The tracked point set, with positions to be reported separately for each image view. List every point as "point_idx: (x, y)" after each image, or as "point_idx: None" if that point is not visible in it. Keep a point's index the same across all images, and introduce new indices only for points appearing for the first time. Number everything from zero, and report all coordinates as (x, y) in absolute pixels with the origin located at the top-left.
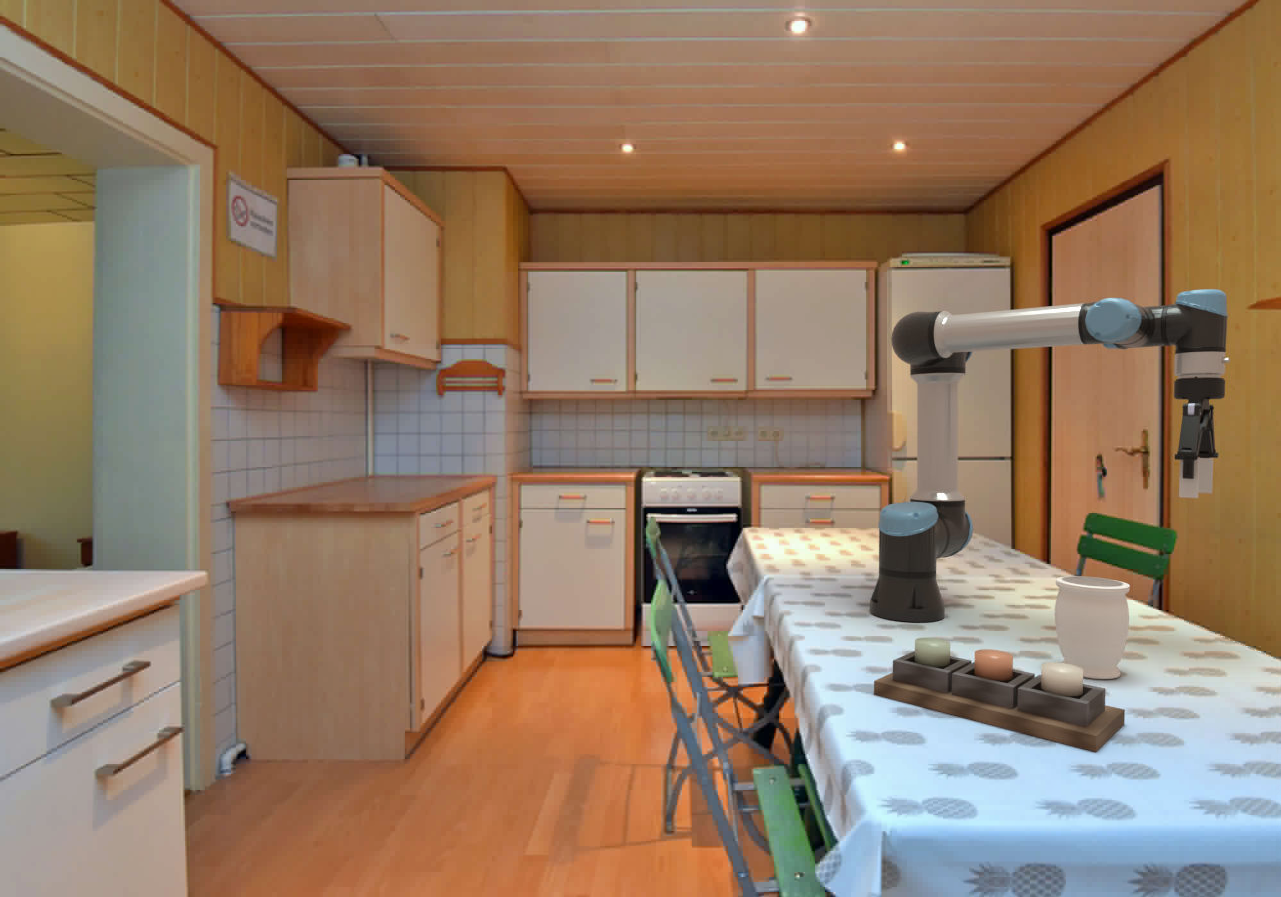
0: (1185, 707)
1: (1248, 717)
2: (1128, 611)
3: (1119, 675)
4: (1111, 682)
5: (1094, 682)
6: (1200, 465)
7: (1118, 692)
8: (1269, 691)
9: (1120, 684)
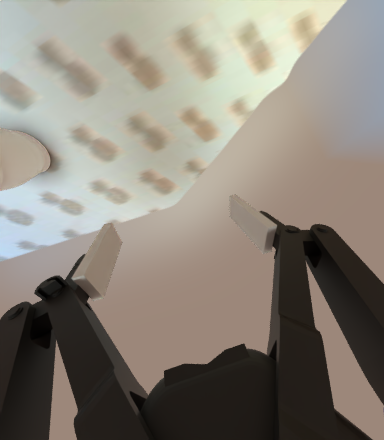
0: (35, 216)
1: (57, 235)
2: (6, 189)
3: (40, 172)
4: None
5: None
6: (255, 227)
7: None
8: None
9: None
